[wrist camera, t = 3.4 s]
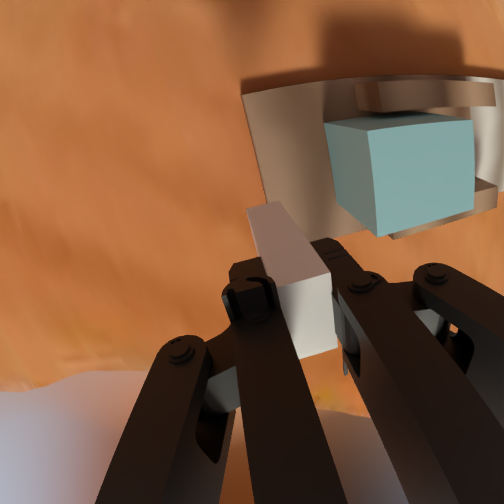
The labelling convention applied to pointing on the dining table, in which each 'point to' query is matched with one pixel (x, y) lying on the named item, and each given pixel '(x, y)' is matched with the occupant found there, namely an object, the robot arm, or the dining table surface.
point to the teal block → (402, 168)
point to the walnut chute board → (354, 106)
